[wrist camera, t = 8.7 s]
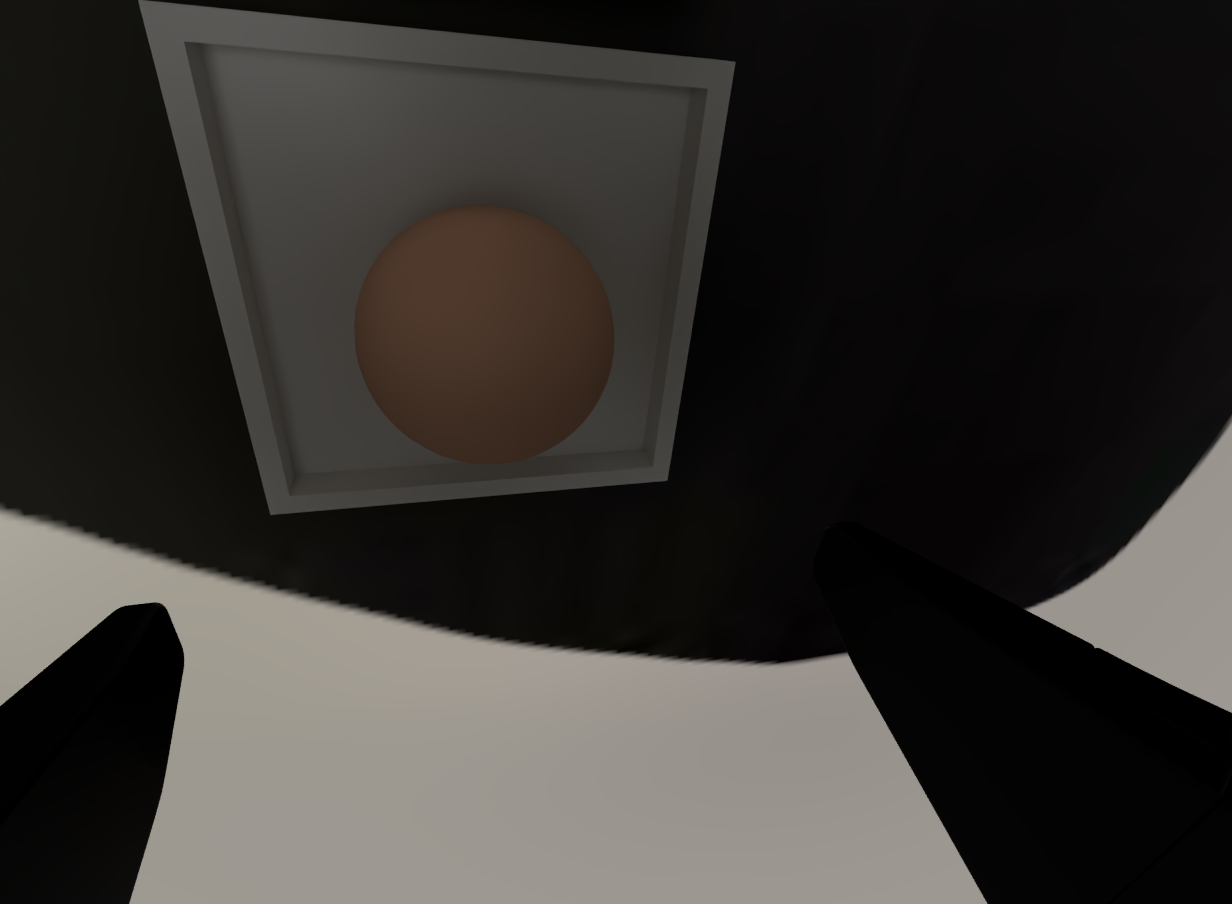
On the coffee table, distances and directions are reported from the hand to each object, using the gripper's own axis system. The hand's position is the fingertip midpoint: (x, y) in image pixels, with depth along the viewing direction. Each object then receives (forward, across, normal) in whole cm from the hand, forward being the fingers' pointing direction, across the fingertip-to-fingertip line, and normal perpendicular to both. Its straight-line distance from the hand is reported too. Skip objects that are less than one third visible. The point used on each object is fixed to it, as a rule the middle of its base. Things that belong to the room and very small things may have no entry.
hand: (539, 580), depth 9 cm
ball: (+11, 0, 0) cm, 11 cm away
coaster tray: (+12, 0, 0) cm, 12 cm away
